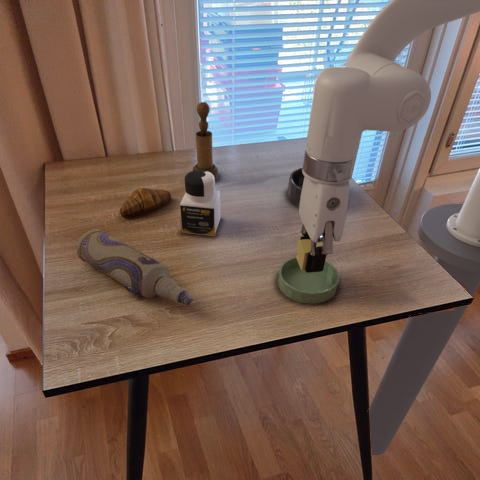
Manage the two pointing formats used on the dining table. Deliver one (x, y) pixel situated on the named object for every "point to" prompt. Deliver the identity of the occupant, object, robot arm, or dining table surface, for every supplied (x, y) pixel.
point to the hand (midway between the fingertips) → (310, 262)
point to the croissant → (144, 201)
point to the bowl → (295, 186)
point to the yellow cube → (304, 252)
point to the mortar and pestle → (204, 143)
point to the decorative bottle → (129, 267)
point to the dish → (307, 282)
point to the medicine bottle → (200, 204)
